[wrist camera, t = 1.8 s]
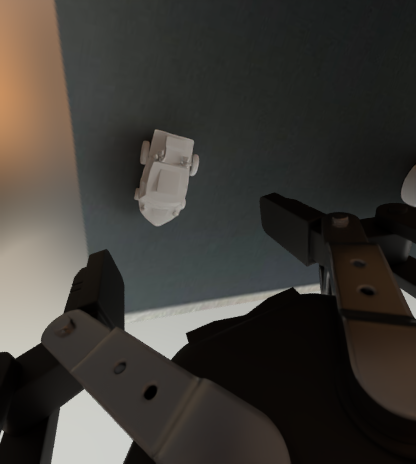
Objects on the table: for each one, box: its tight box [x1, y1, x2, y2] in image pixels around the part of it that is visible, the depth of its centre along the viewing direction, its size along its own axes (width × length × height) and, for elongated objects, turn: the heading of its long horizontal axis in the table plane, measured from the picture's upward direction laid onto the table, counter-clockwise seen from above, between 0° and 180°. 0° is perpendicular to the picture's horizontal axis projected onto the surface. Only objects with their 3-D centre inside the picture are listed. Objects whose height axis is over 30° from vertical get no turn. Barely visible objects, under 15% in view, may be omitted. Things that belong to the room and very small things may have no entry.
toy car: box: [134, 129, 199, 226], centre depth 20 cm, size 5×8×4 cm, turn 164°
